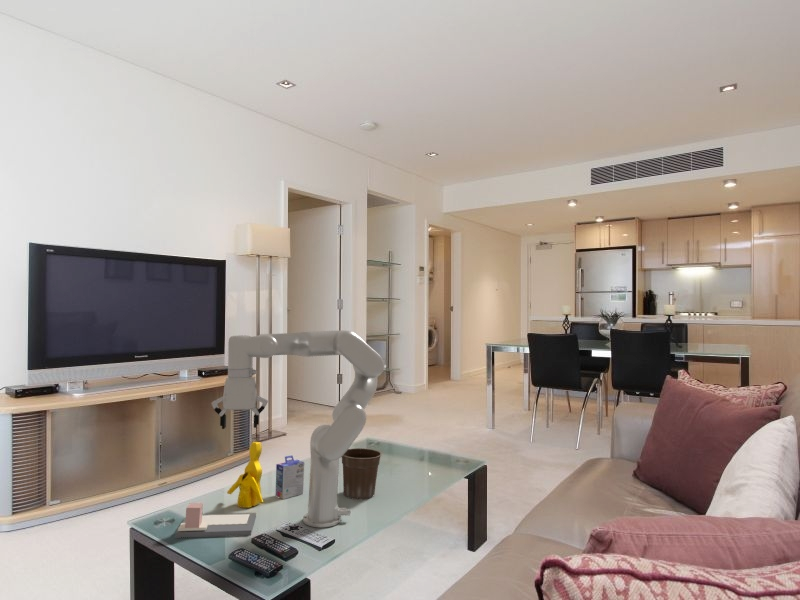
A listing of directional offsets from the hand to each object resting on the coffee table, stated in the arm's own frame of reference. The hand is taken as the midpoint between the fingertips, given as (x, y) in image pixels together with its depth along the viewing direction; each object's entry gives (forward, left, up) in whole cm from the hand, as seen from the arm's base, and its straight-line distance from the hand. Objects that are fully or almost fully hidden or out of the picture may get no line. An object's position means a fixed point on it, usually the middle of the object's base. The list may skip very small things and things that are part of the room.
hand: (239, 427), depth 156 cm
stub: (+12, +2, -30) cm, 32 cm away
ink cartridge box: (-16, -31, -32) cm, 48 cm away
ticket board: (+5, -2, -32) cm, 33 cm away
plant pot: (-43, -30, -32) cm, 62 cm away
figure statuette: (-2, -21, -32) cm, 39 cm away
